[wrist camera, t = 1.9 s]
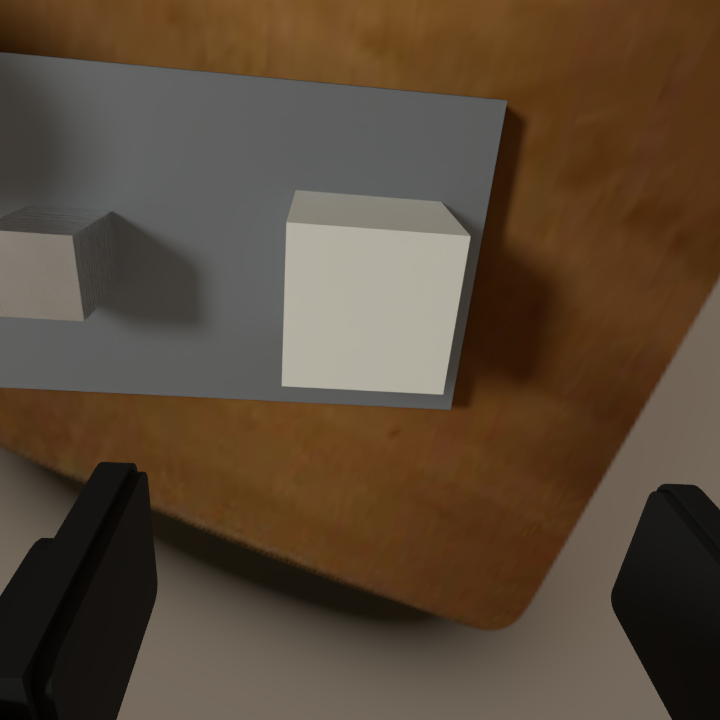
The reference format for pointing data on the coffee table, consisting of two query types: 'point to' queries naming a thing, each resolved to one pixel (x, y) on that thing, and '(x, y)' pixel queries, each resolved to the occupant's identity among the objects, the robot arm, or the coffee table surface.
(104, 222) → the small white block
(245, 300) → the board
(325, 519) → the coffee table surface
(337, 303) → the cream foam cube
